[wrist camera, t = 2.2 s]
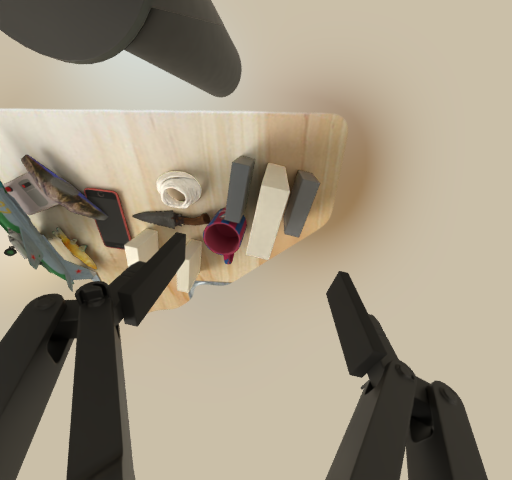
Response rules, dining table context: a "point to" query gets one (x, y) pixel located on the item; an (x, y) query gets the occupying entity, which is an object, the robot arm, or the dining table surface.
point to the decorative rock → (61, 190)
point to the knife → (171, 219)
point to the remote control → (28, 194)
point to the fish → (75, 248)
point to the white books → (148, 246)
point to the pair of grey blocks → (297, 203)
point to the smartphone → (110, 217)
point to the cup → (224, 235)
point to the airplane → (35, 242)
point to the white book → (268, 211)
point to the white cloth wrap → (179, 188)
